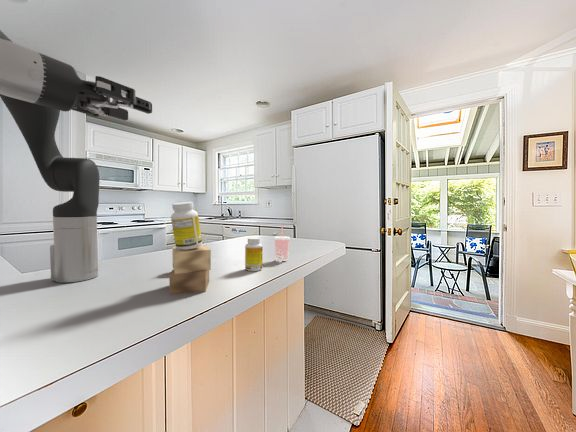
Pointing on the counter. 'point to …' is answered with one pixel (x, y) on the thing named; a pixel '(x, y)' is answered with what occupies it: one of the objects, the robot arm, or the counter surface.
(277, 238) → the beverage cup
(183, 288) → the lower block
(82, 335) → the counter surface
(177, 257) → the upper block
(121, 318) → the counter surface
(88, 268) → the robot arm
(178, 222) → the pill bottle
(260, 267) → the supplement bottle
